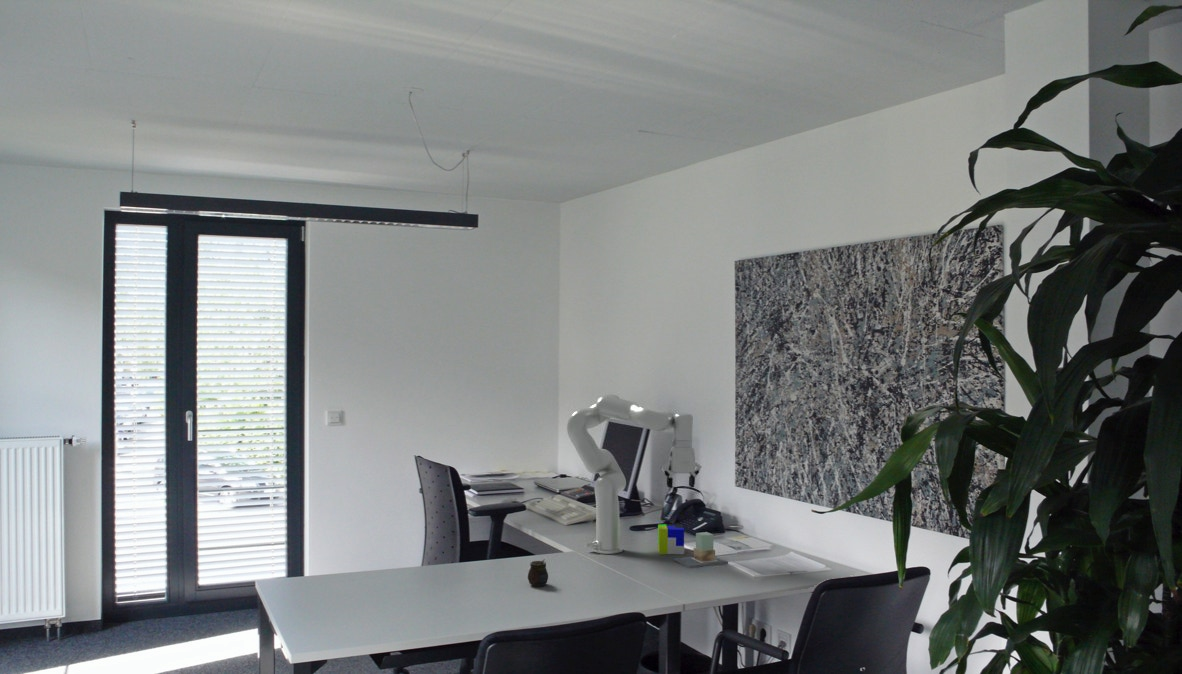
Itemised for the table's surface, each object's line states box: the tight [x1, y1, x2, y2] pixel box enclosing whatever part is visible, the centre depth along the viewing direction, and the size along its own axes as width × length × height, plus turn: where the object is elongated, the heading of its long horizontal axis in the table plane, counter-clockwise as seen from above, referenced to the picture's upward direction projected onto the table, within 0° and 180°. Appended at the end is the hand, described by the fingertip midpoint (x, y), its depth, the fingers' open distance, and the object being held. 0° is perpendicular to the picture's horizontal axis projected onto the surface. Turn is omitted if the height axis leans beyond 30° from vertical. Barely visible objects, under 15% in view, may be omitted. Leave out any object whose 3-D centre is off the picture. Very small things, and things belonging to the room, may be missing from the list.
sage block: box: [695, 531, 714, 551], centre depth 342 cm, size 5×5×6 cm
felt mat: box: [674, 555, 729, 569], centre depth 342 cm, size 17×12×1 cm
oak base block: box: [693, 547, 716, 562], centre depth 342 cm, size 6×6×4 cm
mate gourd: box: [527, 559, 549, 588], centre depth 308 cm, size 7×8×10 cm
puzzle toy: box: [657, 523, 685, 555], centre depth 360 cm, size 10×10×10 cm
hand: (680, 487), depth 349 cm, fingers open, 9 cm apart
